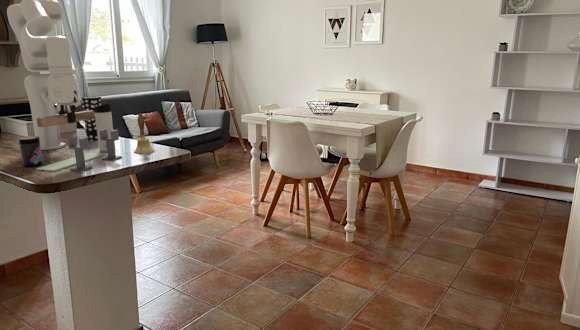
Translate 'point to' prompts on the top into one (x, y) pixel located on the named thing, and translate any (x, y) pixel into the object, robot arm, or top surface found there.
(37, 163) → the supplement container
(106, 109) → the travel mug
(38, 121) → the rail
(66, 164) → the mat
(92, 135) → the white-spotted black cylinder
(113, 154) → the rack
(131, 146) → the top surface
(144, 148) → the hand bell
